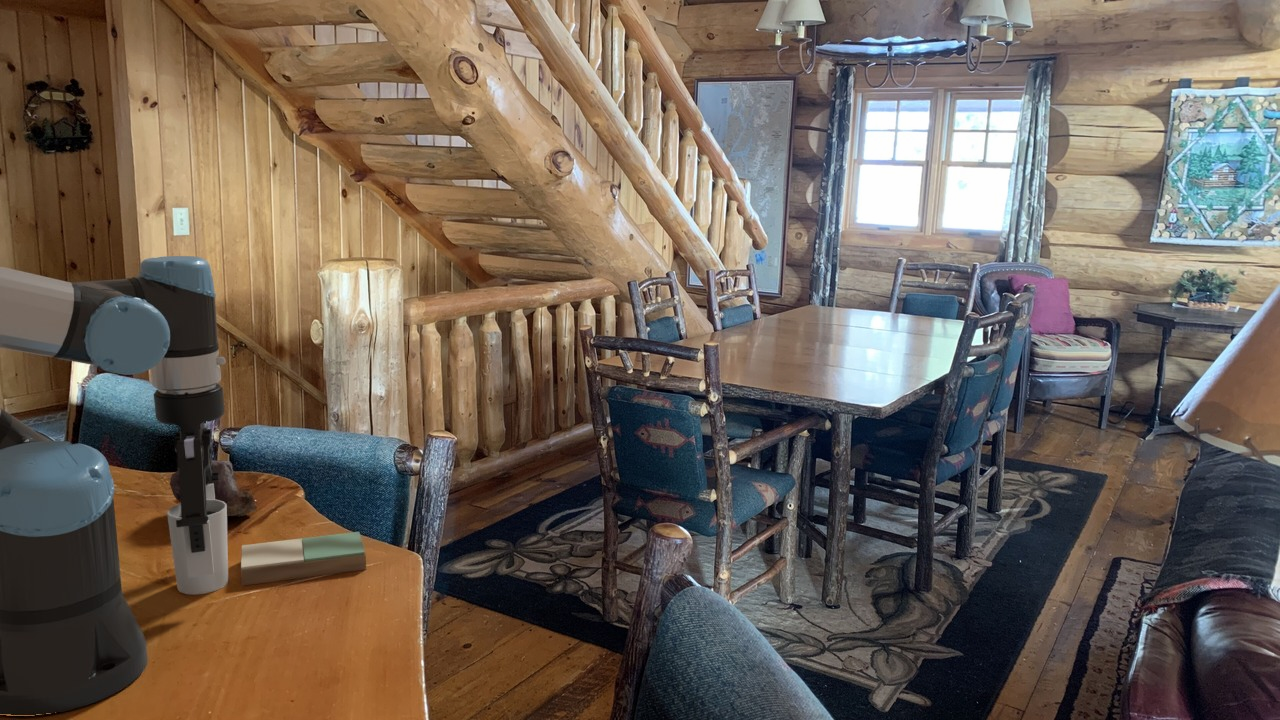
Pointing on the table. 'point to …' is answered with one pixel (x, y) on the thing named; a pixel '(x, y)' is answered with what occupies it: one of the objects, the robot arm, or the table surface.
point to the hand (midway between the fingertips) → (204, 552)
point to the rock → (223, 490)
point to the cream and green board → (302, 558)
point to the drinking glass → (219, 550)
